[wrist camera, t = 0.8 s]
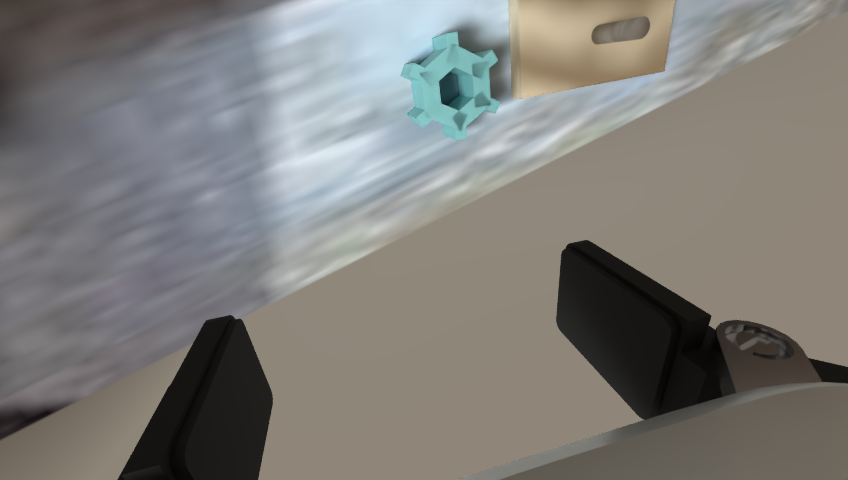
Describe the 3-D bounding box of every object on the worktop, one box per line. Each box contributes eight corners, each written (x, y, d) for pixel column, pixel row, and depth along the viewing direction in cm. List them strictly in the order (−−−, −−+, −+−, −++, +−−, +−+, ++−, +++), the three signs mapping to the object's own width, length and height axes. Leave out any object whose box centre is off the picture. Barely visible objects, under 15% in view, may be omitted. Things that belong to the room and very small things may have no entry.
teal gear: (395, 44, 30) (404, 39, 27) (478, 31, 32) (496, 25, 28) (411, 140, 34) (420, 147, 31) (484, 126, 35) (501, 131, 32)
